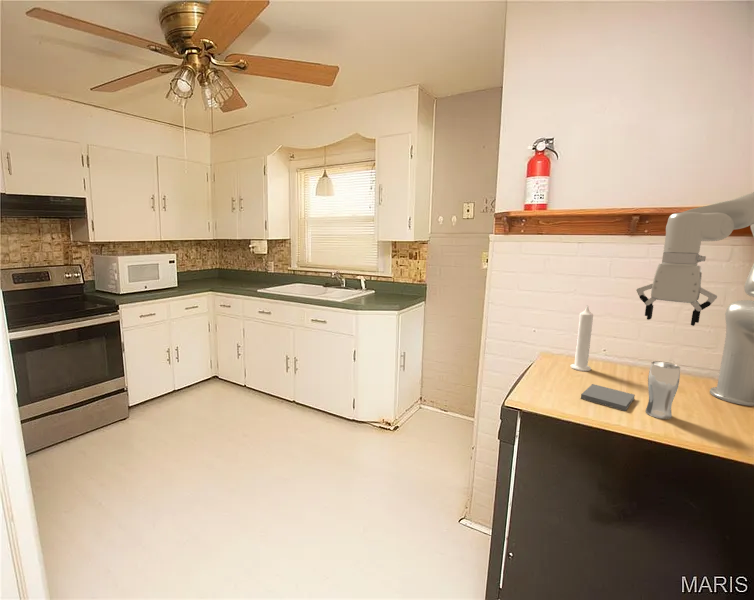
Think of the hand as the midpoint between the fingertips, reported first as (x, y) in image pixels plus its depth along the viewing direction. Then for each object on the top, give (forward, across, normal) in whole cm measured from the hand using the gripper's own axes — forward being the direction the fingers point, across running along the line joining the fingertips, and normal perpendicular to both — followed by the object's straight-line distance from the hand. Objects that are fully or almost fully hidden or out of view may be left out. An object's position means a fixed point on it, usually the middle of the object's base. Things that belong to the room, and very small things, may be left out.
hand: (670, 321), depth 103 cm
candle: (+28, +28, -27) cm, 48 cm away
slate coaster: (+28, +13, -2) cm, 30 cm away
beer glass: (+28, 0, -1) cm, 28 cm away
